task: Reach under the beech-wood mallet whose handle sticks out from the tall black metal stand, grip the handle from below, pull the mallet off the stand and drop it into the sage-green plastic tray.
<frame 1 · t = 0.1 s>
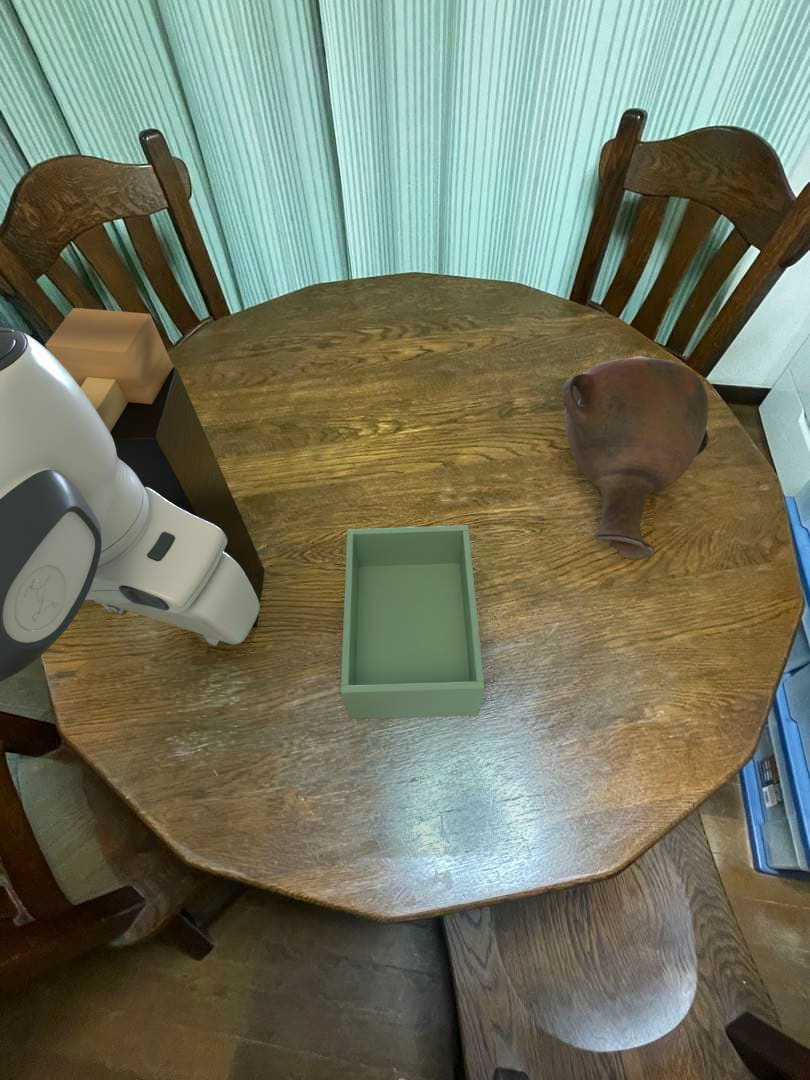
hand: (167, 621, 53), 24 cm above the table, tool pointing down, fingers open, 8 cm apart
tray: (411, 635, 78), on the table
mallet: (99, 425, 50), point 36 cm above the table, touching stand
stand: (228, 598, 81), on the table
jug: (614, 491, 90), on the table
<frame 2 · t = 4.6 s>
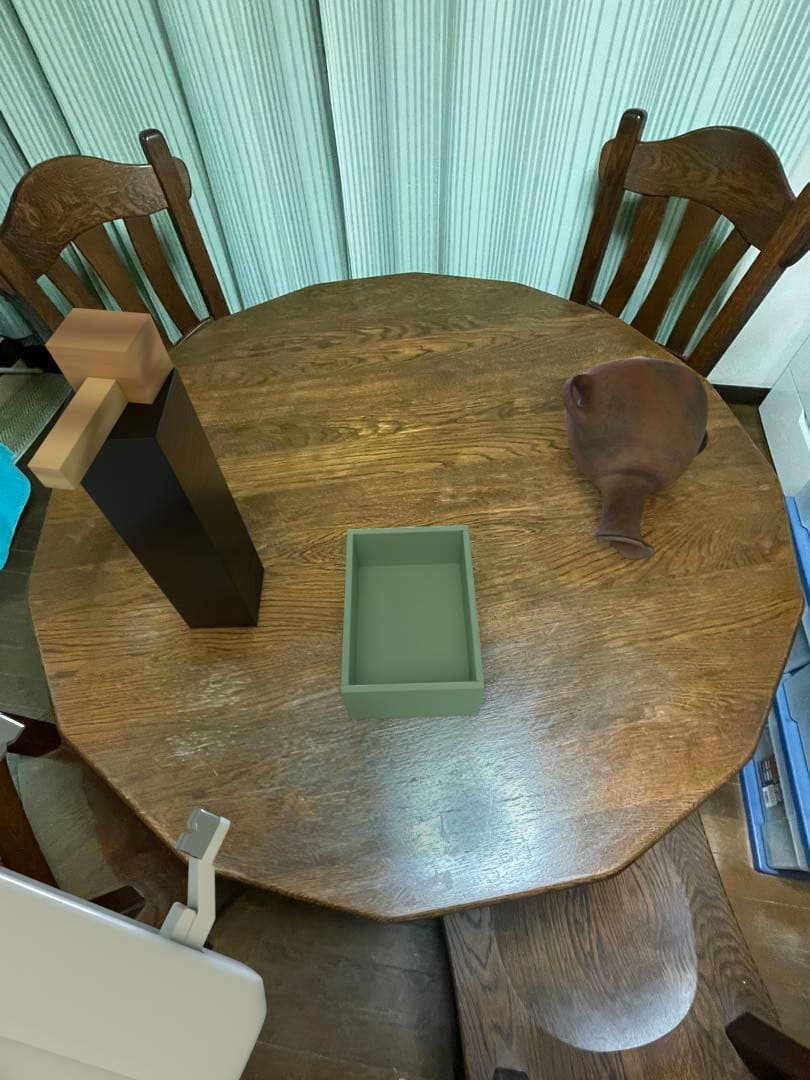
hand: (116, 767, 25), 45 cm above the table, tool horizontal, fingers open, 8 cm apart
nothing on the table moved.
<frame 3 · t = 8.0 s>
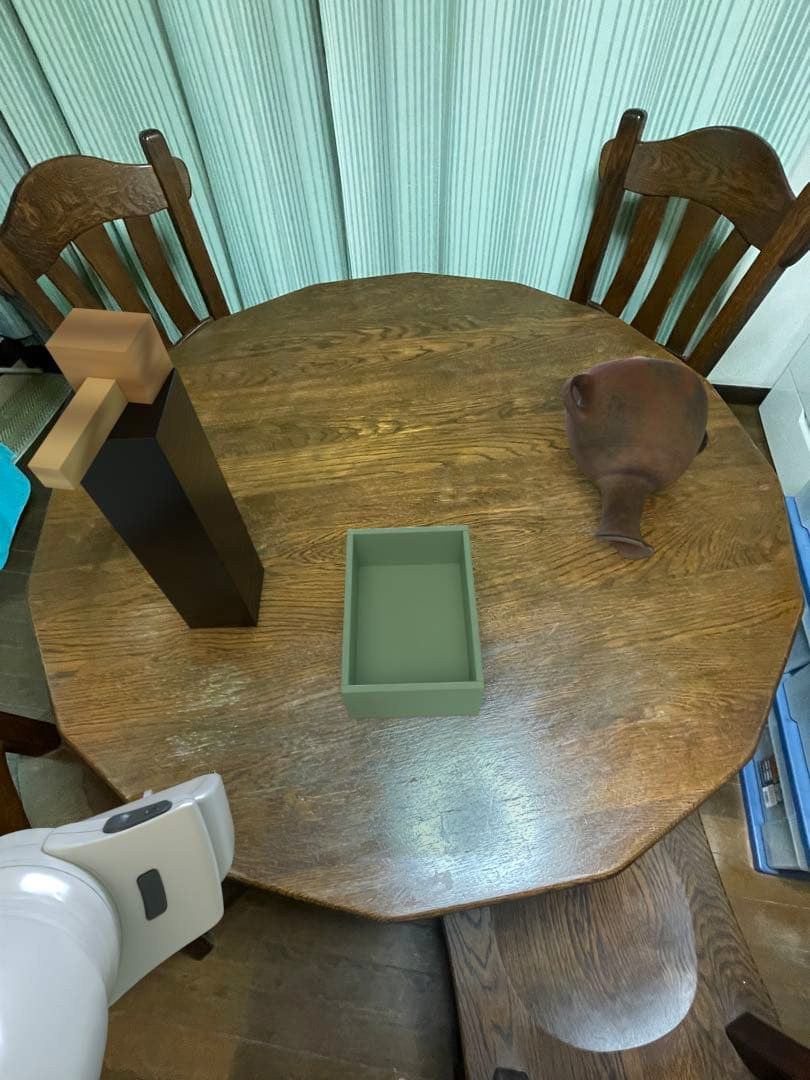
hand: (69, 831, 40), 28 cm above the table, tool tilted 35°, fingers open, 8 cm apart
nothing on the table moved.
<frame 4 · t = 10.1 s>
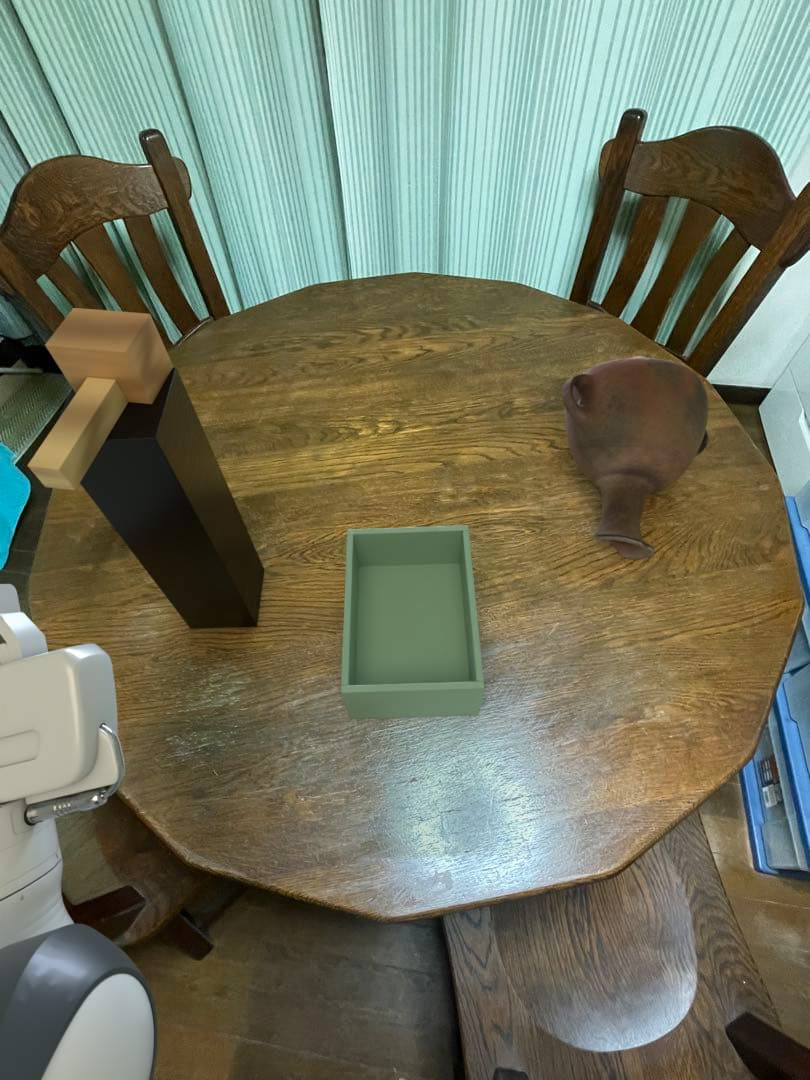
nothing on the table moved.
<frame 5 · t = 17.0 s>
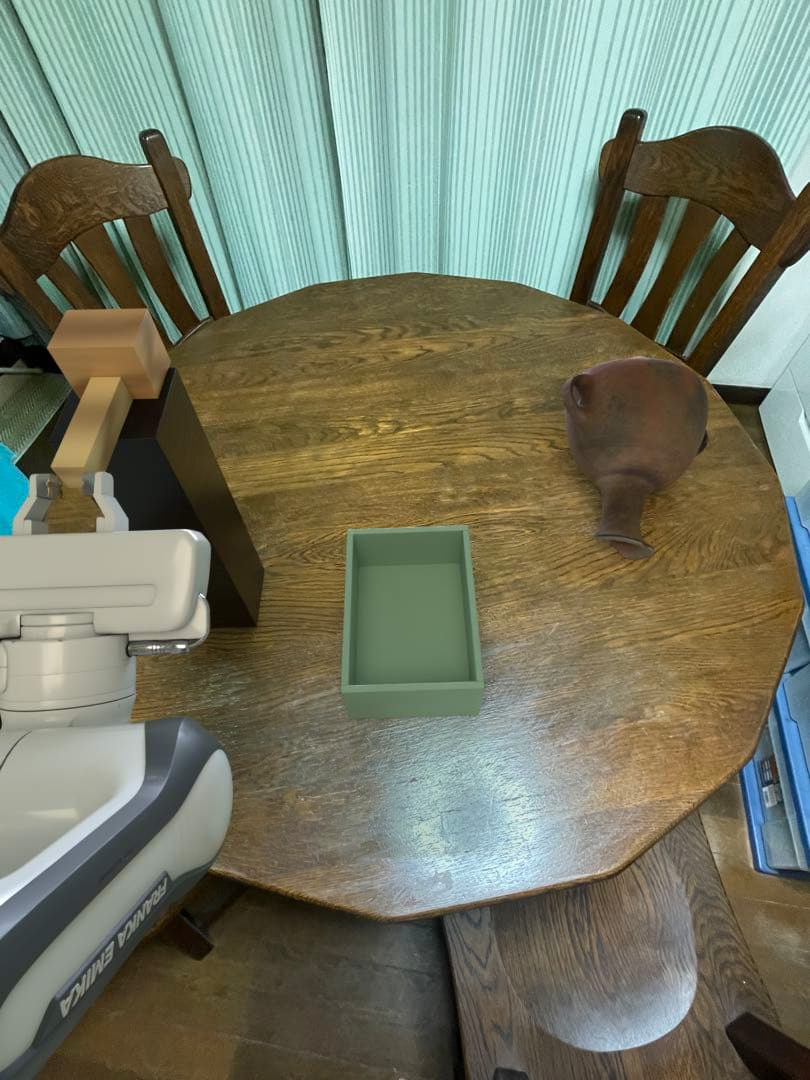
hand: (71, 473, 45), 38 cm above the table, tool pointing upward, fingers closed on mallet, 2 cm apart
mallet: (109, 424, 50), point 36 cm above the table, touching gripper, stand
everything else where it was.
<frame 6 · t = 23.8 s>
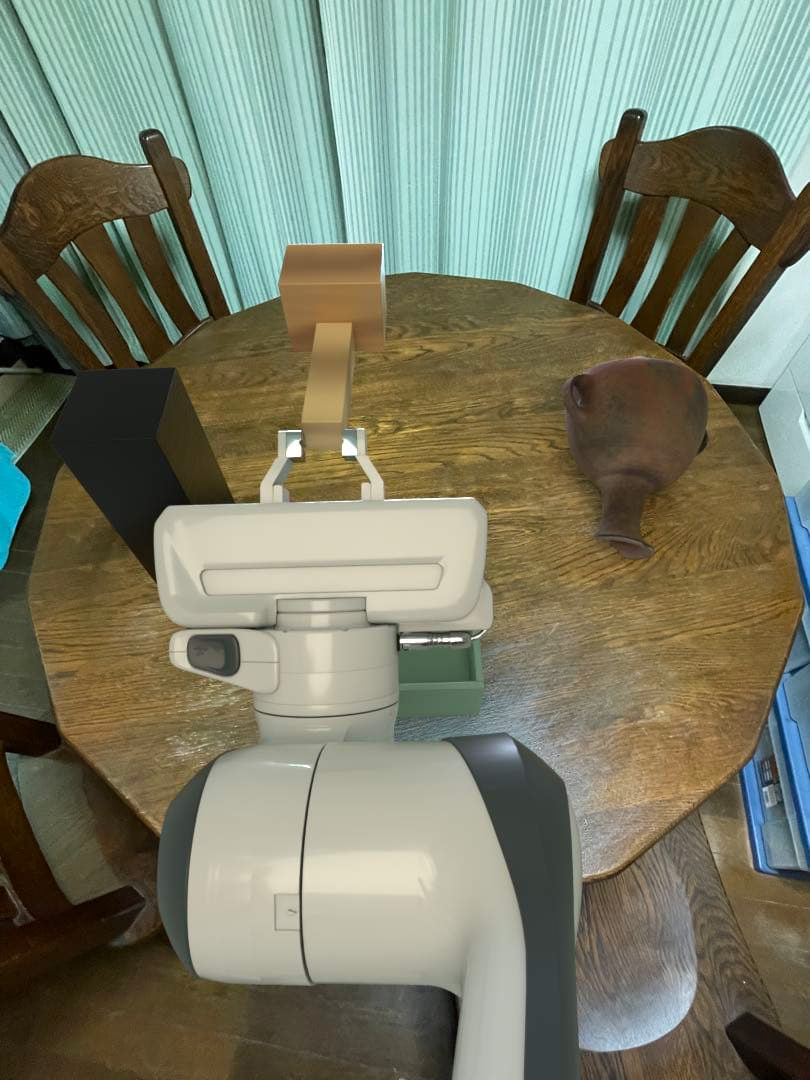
hand: (322, 431, 37), 44 cm above the table, tool pointing upward, fingers closed on mallet, 2 cm apart
mallet: (335, 378, 43), point 43 cm above the table, touching gripper
everything else where it was.
when the fingers open (17 cm above the table, at t = 30.6 s): mallet drops 14 cm, resting on tray.
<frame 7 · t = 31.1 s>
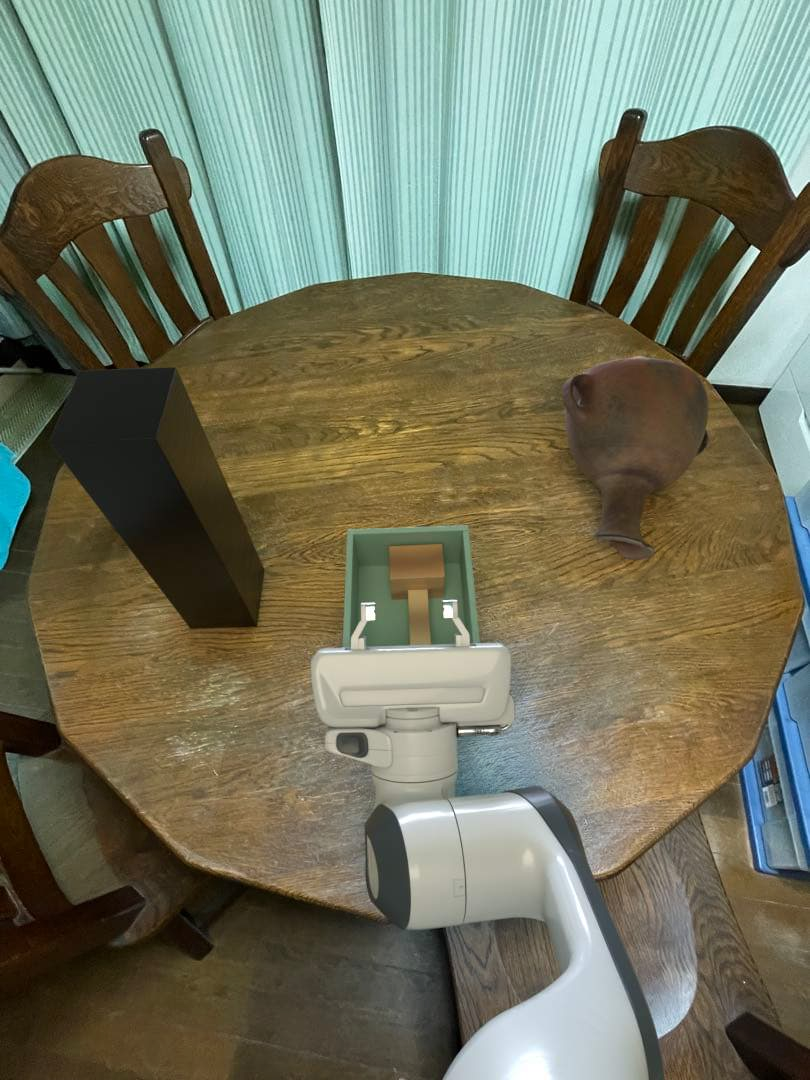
hand: (408, 601, 61), 18 cm above the table, tool pointing upward, fingers open, 7 cm apart
mallet: (418, 619, 77), point 1 cm above the table, touching tray
everything else where it was.
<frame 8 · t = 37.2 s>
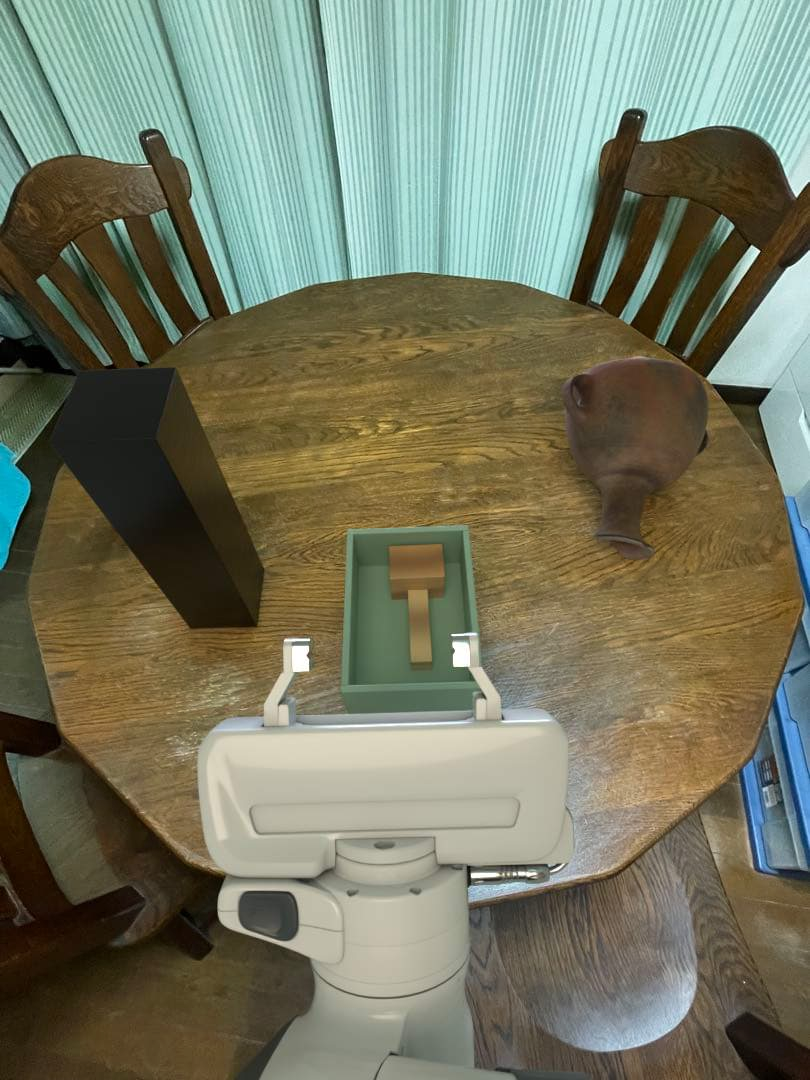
hand: (381, 635, 34), 40 cm above the table, tool pointing upward, fingers open, 8 cm apart
nothing on the table moved.
at the end: mallet inside the target area in the tray (1.9 cm from its centre), point 1.5 cm above the tray's base; the gripper is holding nothing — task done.
